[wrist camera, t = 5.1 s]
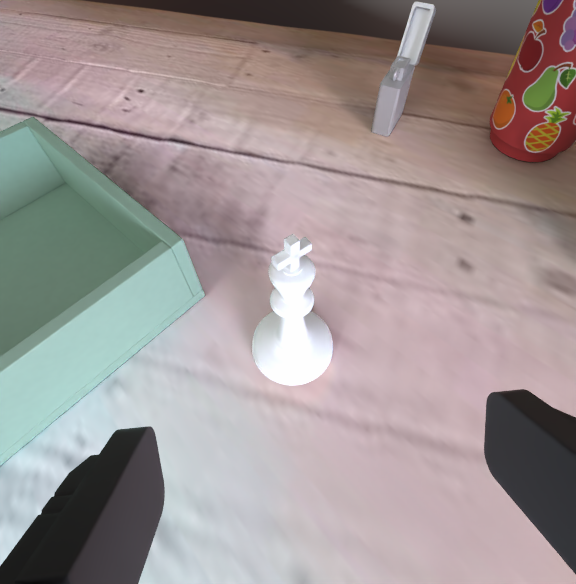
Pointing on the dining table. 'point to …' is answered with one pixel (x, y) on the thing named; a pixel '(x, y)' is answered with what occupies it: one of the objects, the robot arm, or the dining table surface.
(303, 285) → the chess piece
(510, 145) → the smoothie
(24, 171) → the open box
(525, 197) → the dining table surface
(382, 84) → the lighter
